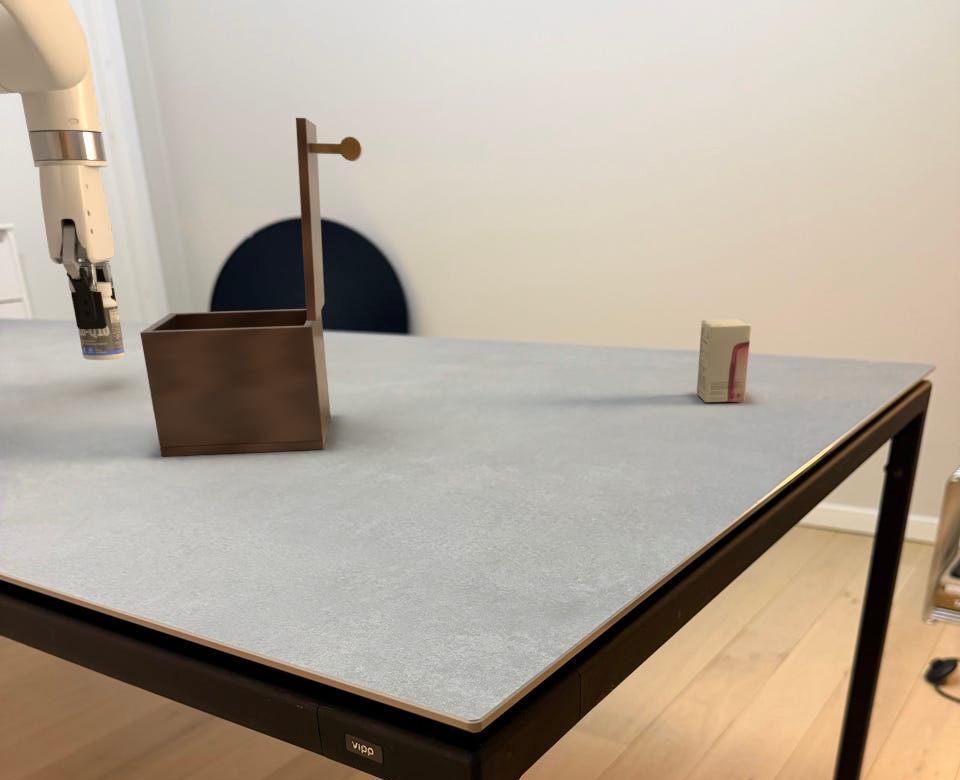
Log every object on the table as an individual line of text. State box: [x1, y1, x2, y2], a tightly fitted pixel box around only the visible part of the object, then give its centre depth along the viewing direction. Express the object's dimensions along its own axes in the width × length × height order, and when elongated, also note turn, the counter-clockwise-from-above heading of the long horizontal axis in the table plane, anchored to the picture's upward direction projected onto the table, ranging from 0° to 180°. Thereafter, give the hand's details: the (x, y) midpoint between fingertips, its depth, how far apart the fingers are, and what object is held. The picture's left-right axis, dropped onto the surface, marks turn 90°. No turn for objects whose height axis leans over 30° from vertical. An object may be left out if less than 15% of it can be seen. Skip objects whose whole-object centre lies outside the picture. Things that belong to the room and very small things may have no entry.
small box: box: [696, 318, 752, 403], centre depth 101 cm, size 5×4×8 cm
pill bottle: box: [77, 282, 126, 361], centre depth 112 cm, size 5×5×8 cm
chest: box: [139, 308, 332, 457], centre depth 90 cm, size 15×13×11 cm
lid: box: [295, 117, 363, 321], centre depth 84 cm, size 15×13×5 cm
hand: (98, 324), depth 112 cm, fingers closed on pill bottle, 4 cm apart
